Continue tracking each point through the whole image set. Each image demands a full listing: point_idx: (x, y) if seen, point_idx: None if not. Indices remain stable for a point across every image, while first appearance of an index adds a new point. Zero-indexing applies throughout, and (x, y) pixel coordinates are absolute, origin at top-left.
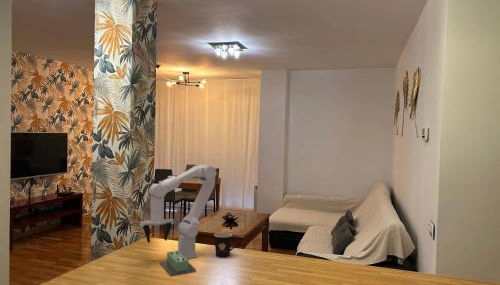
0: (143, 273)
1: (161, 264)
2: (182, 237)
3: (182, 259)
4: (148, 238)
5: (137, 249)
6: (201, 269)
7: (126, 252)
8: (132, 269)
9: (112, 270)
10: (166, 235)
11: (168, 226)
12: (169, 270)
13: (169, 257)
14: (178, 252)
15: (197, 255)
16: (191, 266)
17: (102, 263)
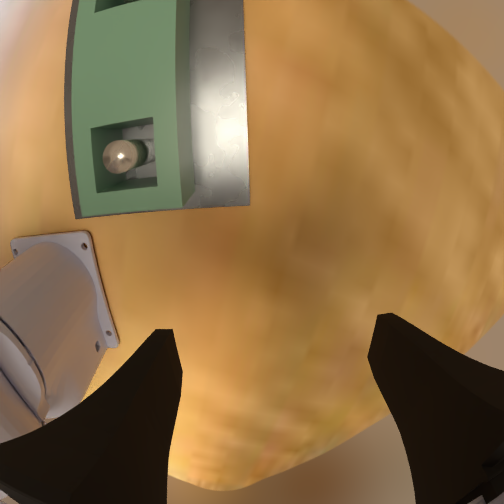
0: (387, 76)
1: (247, 155)
2: (13, 347)
3: (104, 15)
4: (422, 336)
5: (300, 433)
6: (42, 31)
7: (354, 413)
8: (425, 175)
9: (487, 210)
10: (141, 369)
11: (39, 484)
12: (229, 1)
13: (182, 125)
14: (85, 166)
15: (12, 248)
16: (72, 40)
17: (477, 313)
